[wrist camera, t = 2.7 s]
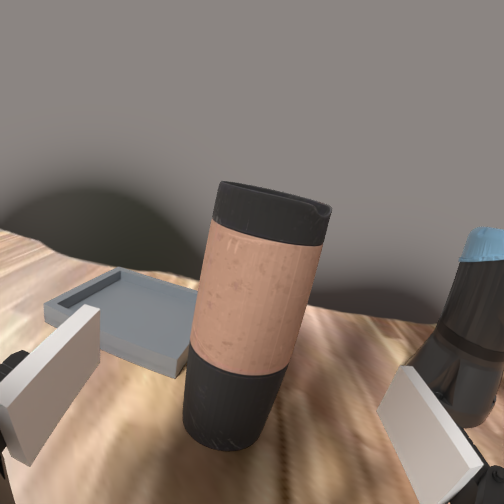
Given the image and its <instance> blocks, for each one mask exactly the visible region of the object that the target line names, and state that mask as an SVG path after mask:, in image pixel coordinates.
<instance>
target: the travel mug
mask: <svg viewBox="0 0 504 504" xmlns="http://www.w3.org/2000/svg"><path fill="white" fill-rule="evenodd" d="M331 213H332V207H331V206H329V205H327V204H324V203H321V202H317V201H314V200H311V199H307V198H303V197H300V196H296V195H292V194H288V193H284V192H280V191H275V190H271V189H266V188H262V187H257V186H252V185H246V184H241V183H235V182H227V181H221V182H220V184H219V188H218V192H217V197H216V201H215V206H214V211H213V216H212V217H213V218H212V221H211V226H210V230H209V235H208V241H207V246H206V251H205V256H204V261H203V267H202V272H201V277H200V283H199V288H198V294H197V299H196V305H195V311H194V317H193V322H192V328H191V335H190V342H189V351H188V360H187V370H186V380H185V391H184V402H183V423H184V426H185V429H186V430H187V432H188V433H189V435H190V436H191V437H192V438H193V439H194V440H196V441H197V442H199V443H200V444H202V445H204V446H206V447H209V448H212V449H215V450H221V451H236V450H241V449H244V448H246V447H248V446H250V445H252V444H253V443H254V442H255V441H256V440H257V439H258V437H259V436H260V434H261V432H262V429H263V427H264V425H265V422H266V420H267V418H268V415H269V413H270V410H271V408H272V405H273V403H274V400H275V398H276V395H277V393H278V390H279V388H280V385H281V383H282V380H283V377H284V375H285V372H286V370H287V367H288V364H289V361H290V359H291V355H292V352H293V349H294V346H295V343H296V339H297V336H298V333H299V329H300V326H301V323H302V319H303V316H304V313H305V309H306V306H307V302H308V299H309V295H310V291H311V288H312V284H313V280H314V277H315V273H316V270H317V266H318V262H319V258H320V254H321V251H322V247H323V242H324V239H325V235H326V231H327V227H328V222H329V219H330V215H331Z"/></svg>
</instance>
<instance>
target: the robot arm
mask: <svg viewBox="0 0 504 504" xmlns="http://www.w3.org/2000/svg"><path fill="white" fill-rule="evenodd" d="M459 262H460V263H459V267H458V270H457V273H456V276H455V279H454V282H453V285H452V287H451V290H450V293H449V295H448V298H447V301H446V304H445V306H444V309H443V311H442V313H441V316H440V318H439V321H438V323H437V326H436V328H435V330H434V332H433V333H432V334H431V335H430V337H429V338H428V339H427V340H426V341H425V342H424V344H423V345H422V346H421V347H420V348H419V349H418V351H417V352H416V353H415V354H414V355H413V356H412V357H411V358H410V359H409V360H408V362H407V363H406V365H405V366H402V365H400V366H399V368H398V370H397V372H396V374H395V376H394V378H393V380H392V382H391V384H390V386H389V388H388V390H387V392H386V394H385V395H384V397H383V399H382V401H381V403H380V405H379V407H378V408H377V410H376V411H377V413H378V415H379V417H380V420H381V422H382V424H383V426H384V428H385V430H386V432H387V434H388V436H389V438H390V440H391V442H392V444H393V446H394V449H395V451H396V453H397V455H398V457H399V459H400V461H401V463H402V466H403V468H404V470H405V472H406V474H407V476H408V479H409V481H410V483H411V485H412V487H413V489H414V492H415V494H416V496H417V498H418V501H419V503H420V504H448V503H449V502H450V504H504V468H502V467H500V466H496V465H494V466H491V467H490V466H489V465H488V463H487V462H486V460H485V459H484V457H483V456H482V454H481V453H480V452H479V450H478V449H477V447H476V446H475V444H474V445H473V442H472V440H471V439H470V438H469V436H468V435H467V433H466V432H465V431H464V429H463V428H472V427H476V426H478V425H480V424H482V423H483V422H484V421H485V420H486V418H487V417H488V415H489V414H490V412H491V411H492V409H493V407H494V405H495V402H496V394H497V391H498V389H499V386H500V383H501V379H502V375H503V371H504V230H502V229H497V228H490V227H477V228H475V229H473V230H472V231H471V232H470V234H469V236H468V238H467V241H466V244H465V247H464V250H463V253H462V256H461V257H460V258H459ZM99 363H100V309H99V308H96V307H92V306H89V305H86V304H84V305H83V306H82V307H81V308H80V309H78V310H77V311H76V312H75V313H74V314H73V315H72V316H70V317H69V318H68V319H67V320H66V321H65V322H64V323H63V324H62V325H60V326H59V327H58V328H57V329H56V330H55V331H54V332H53V333H52V334H50V335H49V336H48V337H47V338H46V339H45V340H44V341H43V342H42V343H41V344H40V345H39V346H37V347H36V348H35V349H34V350H33V351H32V352H31V353H28V352H26V351H24V350H21V351H19V352H16V353H14V354H11V355H10V356H9V357H8V358H7V359H6V360H5V361H3V363H2V364H0V504H15V501H14V498H13V494H12V491H11V487H10V483H9V479H8V475H7V471H6V466H5V461H4V457H3V455H2V451H3V450H4V449H5V447H6V446H7V448H8V451H9V453H10V455H11V457H13V458H15V459H16V460H18V461H20V462H22V463H23V464H25V465H27V466H29V467H30V466H31V465H32V463H33V461H34V460H35V458H36V457H37V455H38V454H39V452H40V450H41V449H42V447H43V446H44V444H45V443H46V441H47V439H48V438H49V436H50V435H51V433H52V432H53V430H54V429H55V427H56V426H57V424H58V423H59V421H60V420H61V418H62V417H63V415H64V414H65V412H66V411H67V409H68V408H69V406H70V405H71V403H72V402H73V400H74V399H75V398H76V396H77V395H78V393H79V392H80V390H81V389H82V387H83V386H84V385H85V383H86V382H87V380H88V379H89V378H90V376H91V375H92V373H93V372H94V370H95V369H96V368H97V366H98V365H99Z"/></svg>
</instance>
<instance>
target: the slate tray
mask: <svg viewBox="0 0 504 504" xmlns="http://www.w3.org/2000/svg"><path fill="white" fill-rule="evenodd" d="M197 294H198V291H196V290H193V289H189V288H186V287H182V286H179V285H176V284H172V283H169V282H166V281H162V280H159V279H156V278H153V277H149V276H146V275H143V274H140V273H137V272H134V271H130V270H127V269H124V268H121V267H117V268H115V269H113V270H110V271H108V272H106V273H104V274H102V275H100V276H98V277H96V278H94V279H92V280H90V281H88V282H86V283H84V284H82V285H80V286H78V287H76V288H74V289H72V290H70V291H68V292H66V293H64V294H62V295H60V296H58V297H56V298H54V299H52V300H50V301H48V302H46V303H44V317H45V322H46V323H48V324H50V325H52V326H54V327H56V328H58V327H59V326H60V325H62V324H63V323H64V322H65V321H66V320H67V319H68V318H69V317H70V316H72V315H73V314H74V313H75V312H76V311H77V310H78V309H80V308H81V307H82V306H83V305H84V304H86V305H89V306H92V307H96V308H99V309H100V349H101V350H104V351H106V352H108V353H110V354H113V355H115V356H117V357H120V358H122V359H124V360H127V361H129V362H132V363H134V364H137V365H139V366H142V367H144V368H147V369H149V370H152V371H155V372H157V373H160V374H163V375H165V376H168V377H171V378H174V379H175V378H176V377H177V375H178V374H179V372H180V371H181V369H182V368H183V366H184V365H185V363H186V362H187V360H188V351H189V342H190V335H191V328H192V322H193V317H194V311H195V305H196V299H197Z"/></svg>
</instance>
